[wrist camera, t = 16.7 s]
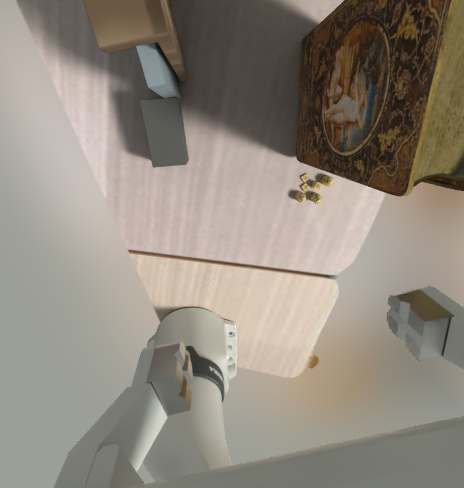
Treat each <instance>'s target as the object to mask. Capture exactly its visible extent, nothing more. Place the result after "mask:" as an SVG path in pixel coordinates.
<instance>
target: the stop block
mask: <svg viewBox="0 0 464 488" xmlns="http://www.w3.org/2000/svg"><path fill="white" fill-rule="evenodd" d="M140 105H141V110H142V115H143V120H144V125H145V130H146V135H147V140H148V145H149V150H150V155H151V160H152V165H153V167H164V166H175V165H186V164H187V162H188V161H189V160H188V152H187V145H186V138H185V131H184V124H183V117H182V110H181V103H180V101H179V100H178V99H177V98H165V99H152V100H140Z"/></svg>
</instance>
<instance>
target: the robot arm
mask: <svg viewBox="0 0 464 488" xmlns="http://www.w3.org/2000/svg"><path fill="white" fill-rule="evenodd" d="M388 304H389V305H390V306H391V309H390V310H389V311H388V312H387V321H388V324H389V327H390V329H391V330H392V332H393V333H394V334H395V335H396V336H397V337H398V338H400V339H403V340H405V346H406V348H407V349H408V350H409V351H410V352H411V353H412V354H413V355H414V356H415V357H416V359H417V360H418V361H421V360H426V359H431V358H437V357H443V358H444V359H446V360H448V361H450V362H452V363H454V364H455V365H457V366H459V367H461V368H463V369H464V308H463V307H461V306H460V305H459V304H457V303H456V302H454V301H453V300H451V299H450V298H449V297H447V296H446V295H444V294H443V293H441V292H440V291H439V290H437V289H436V288H434V287H431V286H428V287H424V288H419V289H416V290H411V291H407V292H403V293H398V294H394V295H390V297H389V298H388ZM147 347H148V348H144V349H143V351H142V352H141V355H140V359H139V362H138V365H137V368H136V372H135V375H134V378H133V382H132V385H131V387H128V388H126V390H124V392H123V393H122V394H121V395H120V396H119V397H118V398H117V399H116V400H115V402H114V403H113V404H112V405H111V406H110V407H109V408H108V409H107V410H106V412H105V413H104V414H103V415H102V416H101V417H100V418H99V420H98V421H97V422H96V423H95V424H94V425H93V426H92V427H91V428H90V430H89V431H88V432H87V433H86V434H85V435H84V436H83V437H82V438H81V439H80V441H79V442H78V443H77V444H76V445H75V446H74V447H73V448H72V449H71V451H70V452H69V453H68V456H67V458H66V460H65V463H64V465H63V467H62V470H61V472H60V474H59V476H58V479H57V481H56V484H55V486H54V488H464V416H461V417H456V418H452V419H447V420H442V421H438V422H433V423H428V424H424V425H419V426H414V427H409V428H405V429H400V430H395V431H391V432H386V433H381V434H376V435H372V436H367V437H362V438H358V439H353V440H348V441H344V442H339V443H334V444H329V445H325V446H320V447H315V448H311V449H306V450H301V451H297V452H292V453H287V454H283V455H278V456H273V457H269V458H264V459H259V460H255V461H250V462H245V463H240V464H236V465H233V464H232V462H231V459H230V457H229V453H228V449H227V444H226V439H225V432H224V423H223V412H222V402H223V399H224V394H225V393H226V392H227V391H228V389H229V387H228V380H230V379H231V378H233V377H234V376H235V375H236V373H237V326H236V324H235V323H234V322H231V321H228V320H224V319H222V318H220V317H219V316H217V315H216V314H214V313H212V312H210V311H208V310H205V309H201V308H184V309H180V310H177V311H174V312H172V313H170V314H169V315H167V316H166V317H165V318H164V319H163V320H162V321H161V323H160V324H159V326H158V329H157V332H156V334H155V335H154V336H153V337H152V338H151V339H150V340H149V341H148V345H147ZM142 461H143V462H144V465H145V467H146V469H147V471H148V472H149V473H150V475H151V476H152V477H153V478H154V479H155V480H156V482H152V483H147V484H144V482H143V481H142V479H141V478H140V476H139V475H138V474H137V470H138V469H139V467H140V465H141V463H142Z"/></svg>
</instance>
